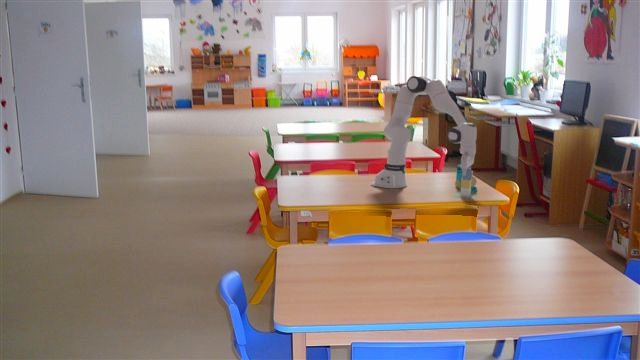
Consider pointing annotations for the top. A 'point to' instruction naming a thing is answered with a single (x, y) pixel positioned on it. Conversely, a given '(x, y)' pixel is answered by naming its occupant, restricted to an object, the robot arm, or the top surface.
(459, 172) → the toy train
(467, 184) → the mustard block
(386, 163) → the robot arm
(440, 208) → the top surface
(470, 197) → the build plate
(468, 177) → the blue block
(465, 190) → the white block
